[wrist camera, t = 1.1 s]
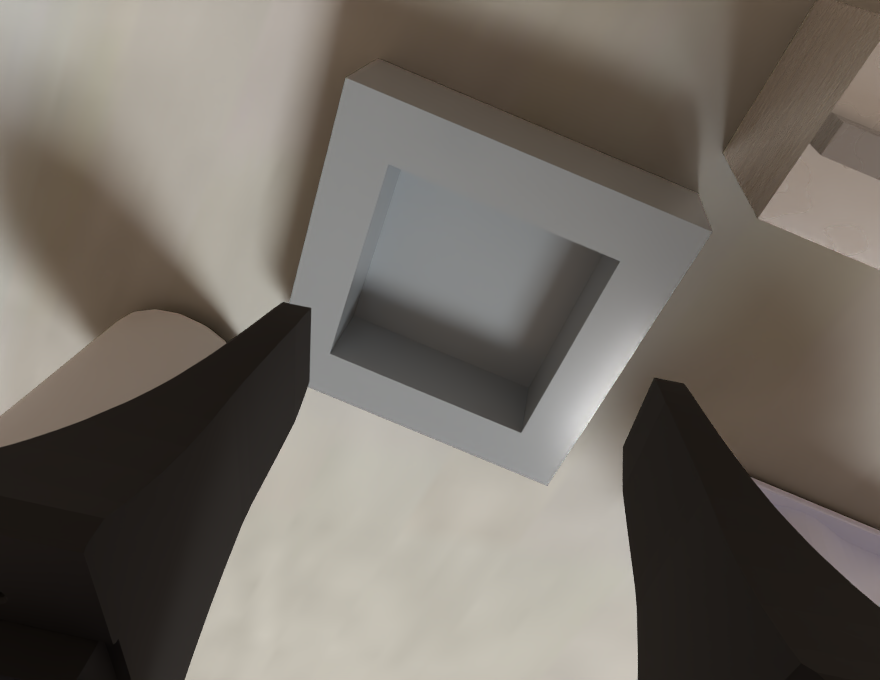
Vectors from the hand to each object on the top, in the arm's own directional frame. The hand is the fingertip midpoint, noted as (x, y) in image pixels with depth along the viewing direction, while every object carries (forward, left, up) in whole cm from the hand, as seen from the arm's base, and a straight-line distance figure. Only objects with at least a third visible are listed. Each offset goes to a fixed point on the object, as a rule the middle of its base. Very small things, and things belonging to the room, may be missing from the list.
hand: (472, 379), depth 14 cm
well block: (0, +4, -12) cm, 13 cm away
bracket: (-8, -6, -12) cm, 16 cm away
